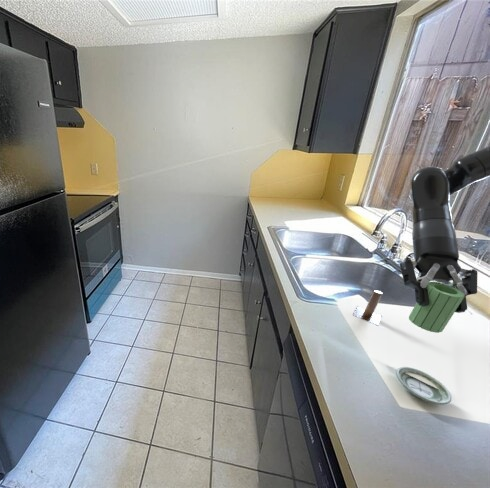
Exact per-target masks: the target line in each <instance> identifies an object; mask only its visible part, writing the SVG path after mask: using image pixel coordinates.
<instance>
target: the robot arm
mask: <svg viewBox="0 0 490 488" xmlns="http://www.w3.org/2000/svg"><path fill="white" fill-rule="evenodd" d="M489 177H490V145H488V146H485V147H482V148H481V149H478V150H476V151H473V152H471V153H469V154H466V155H463V156H461V157H460V158H458V159H456V160H454V161H453V162H452V163H451V164H450V166H449V167H448V168H447V169H446V170H445V169H443V168H441V167H438V166H425V167H422V168H420V169H418V170H417V171H415V172H414V173H413V174H412V176H411V178H410V181H409V188H408V196H409V198H410V200H412V211H411V221H412V233H411V234H412V236H411V239H412V249H413V259H414V261H413V260H412V259H406V260H404V261H402V262H400V263H399V267H400V271H401V272H400V273H401V275H402V280H403V284H404V286H406V287H410V288H412V289H413V290H414V295H415V302H416V303H418V305H419V306H427V305H429V298H428V290H427V289H425V288H426V287H427V285H428V284H429V282H438V283H443V284H446V285H449V286H452V287H454V288H456V289H458V290H460V291H461V292H463V293H464V295H465V297H464V298H463V300H462V301H461V303H460V305H459V306H458V308H457V309H456V311H455V312H454V313H458V314H461V313H465V312H466V311H467V310H468V301H467V297H468V296H471V295H476V294H478V271H477V270H476V269H474V268H472V269H466V268H463V267H461V265H460V264H459V259H460V253H459V245H458V240H457V233H456V229H455V227H454V224H453V216H452V211H451V206H450V196H451V195H453V194H455V193H457V192H459V191H461V190H462V189H464V188H466V187H467V186H469V185H471V184H473V183H475V182H479V181H481V180H484V179H487V178H489ZM415 269H416V270H417V272H418V273H419V274H418V276H417V275H416V271H415ZM451 281H452V282H451Z"/></svg>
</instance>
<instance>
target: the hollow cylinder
mask: <svg viewBox="0 0 490 488" xmlns="http://www.w3.org/2000/svg"><path fill="white" fill-rule="evenodd" d="M425 289H427V290H428V298H429V305H427V306H419V305H418V303H417V302H416V303H415V305H414V306H413V308H412V310H411V311H410V313H409V316H408V320H409V321H410V322H411V324H413V325H415V326H416V327H418V328H420V329H422V330H425V331H427V332H431V333H435V334H438V333H443V331H444V330H445V328H446V326H447V325H448V323H449V322H450V320H451V319H452V317H453V316H454V314H455V313H456V312H455V311H456V309H457V308H458V306H459V305H460V303H461V301H462V300H463V298H464V297H465V295H464V293H463V292H461V291H460V290H458V289H456V288H454V287H452V286H449V285H446V284H443V283H441V282H437V281H430V282H429V284H428V285H427V287H426V288H425Z"/></svg>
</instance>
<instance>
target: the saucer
mask: <svg viewBox="0 0 490 488" xmlns="http://www.w3.org/2000/svg"><path fill="white" fill-rule="evenodd" d="M395 373H396V374H395V375H396V378H397V380H398V381H399V382H400V384H401V385H402V386H403V388H405V389H406V390H407V392H409V393H410V394H411V395H414V396H415V397H417V398H418V399H420V400H422V401H425V402H427V403H431V404H437V405H447V404H450V403H451V402H452V394H451V392H450V391H449V390H448V388H447V387H446V386H445V385H444V384H443V383H442V382H441V381H440V380H438V379H437V378H436V377H434V376H432V375H430V374H428V373H427V372H425V371H422V370H420V369H418V368H414V367H409V366H401V367H398V368H397V369H396V372H395ZM408 373H411V374H415V375H417V376H420V377H422V378H424V379H425V380H427V381H429V382H430V383H432V384H433V385H435V386H436V387H435V386H433V385H431V384H428V383H427V382H424V381H423V380H421V379H418V378H417V377H414V376H413V375H410V374H408Z"/></svg>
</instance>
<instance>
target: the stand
mask: <svg viewBox="0 0 490 488" xmlns="http://www.w3.org/2000/svg"><path fill="white" fill-rule="evenodd" d="M382 297H383V292H382V291H381V290H378V289H374V290H373V291H372V294H371V296H370V298H369V300H368V303H367V305H366V306H365V308H363V307H360V306H359V305H356V307H355V309H354V311H353V313H352V316H353V317H356V318H358V319H360V320H363V321H366V322H368V323H369V324H370V323H371V324H373V325H375V326H378V327H379V326H380V323H381V320H382V317H383V316H382V315H380V314H378V313H375V311H376V308H377V306H378V304H379V302H380V300H381V298H382Z"/></svg>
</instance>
